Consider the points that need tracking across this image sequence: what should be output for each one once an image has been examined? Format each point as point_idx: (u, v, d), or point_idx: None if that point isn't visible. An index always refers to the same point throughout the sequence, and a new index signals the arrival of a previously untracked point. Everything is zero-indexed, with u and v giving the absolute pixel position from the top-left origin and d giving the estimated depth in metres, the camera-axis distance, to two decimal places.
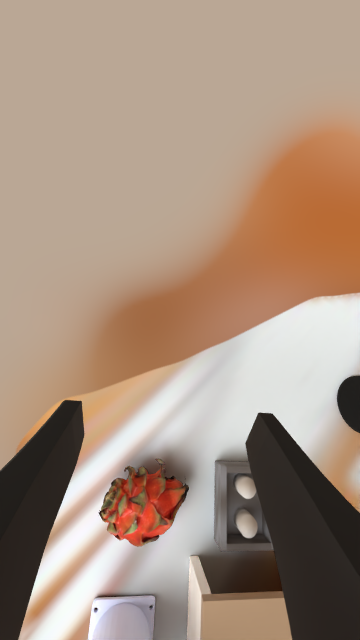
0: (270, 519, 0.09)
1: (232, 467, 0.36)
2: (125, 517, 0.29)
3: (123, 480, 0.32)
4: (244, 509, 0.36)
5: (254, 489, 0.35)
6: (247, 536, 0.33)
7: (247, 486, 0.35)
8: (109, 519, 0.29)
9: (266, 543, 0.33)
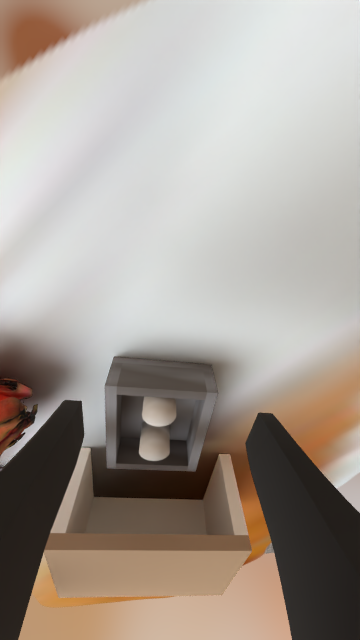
0: (270, 519, 0.09)
1: (130, 388, 0.17)
2: None
3: None
4: None
5: (172, 417, 0.19)
6: (150, 459, 0.21)
7: (158, 413, 0.18)
8: None
9: (180, 465, 0.22)
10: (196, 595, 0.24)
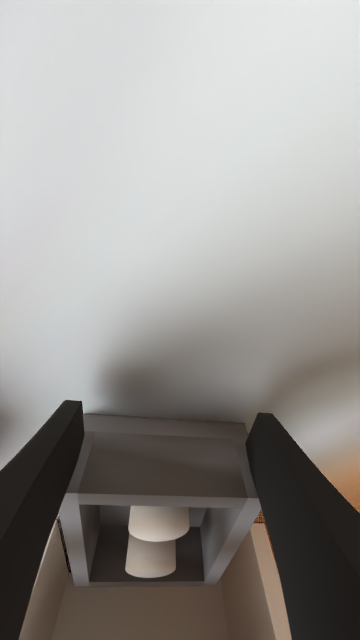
0: (270, 519, 0.08)
1: (103, 494, 0.09)
2: None
3: None
4: None
5: (181, 530, 0.11)
6: (145, 576, 0.13)
7: (158, 526, 0.10)
8: None
9: (192, 580, 0.14)
10: None
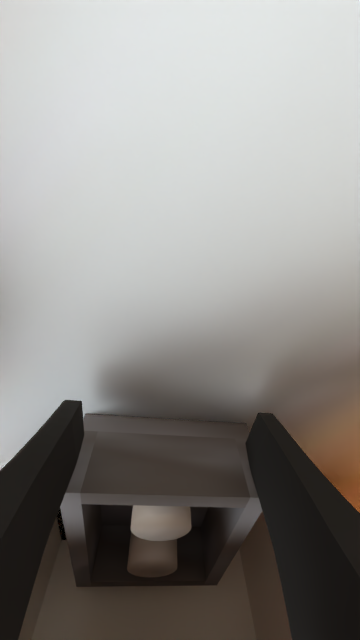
0: (270, 519, 0.09)
1: (106, 494, 0.09)
2: None
3: None
4: None
5: (184, 530, 0.11)
6: (146, 576, 0.13)
7: (160, 525, 0.10)
8: None
9: (194, 579, 0.14)
10: None
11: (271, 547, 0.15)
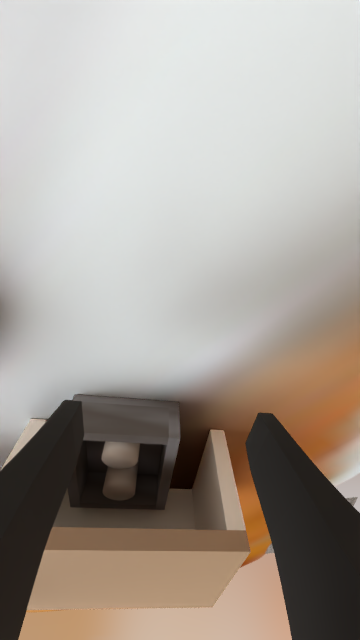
0: (270, 519, 0.08)
1: (85, 433, 0.16)
2: None
3: None
4: None
5: (134, 460, 0.18)
6: (116, 499, 0.20)
7: (119, 456, 0.17)
8: None
9: (148, 504, 0.21)
10: (179, 607, 0.19)
11: (205, 481, 0.21)
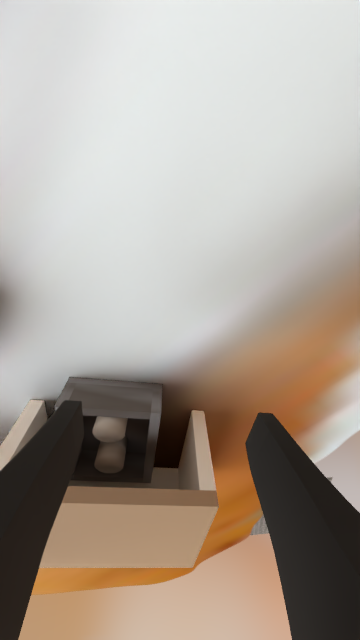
0: (270, 519, 0.09)
1: None
2: None
3: None
4: None
5: (121, 434, 0.20)
6: (106, 472, 0.22)
7: (108, 430, 0.20)
8: None
9: (136, 477, 0.23)
10: (163, 567, 0.21)
11: (187, 456, 0.23)
